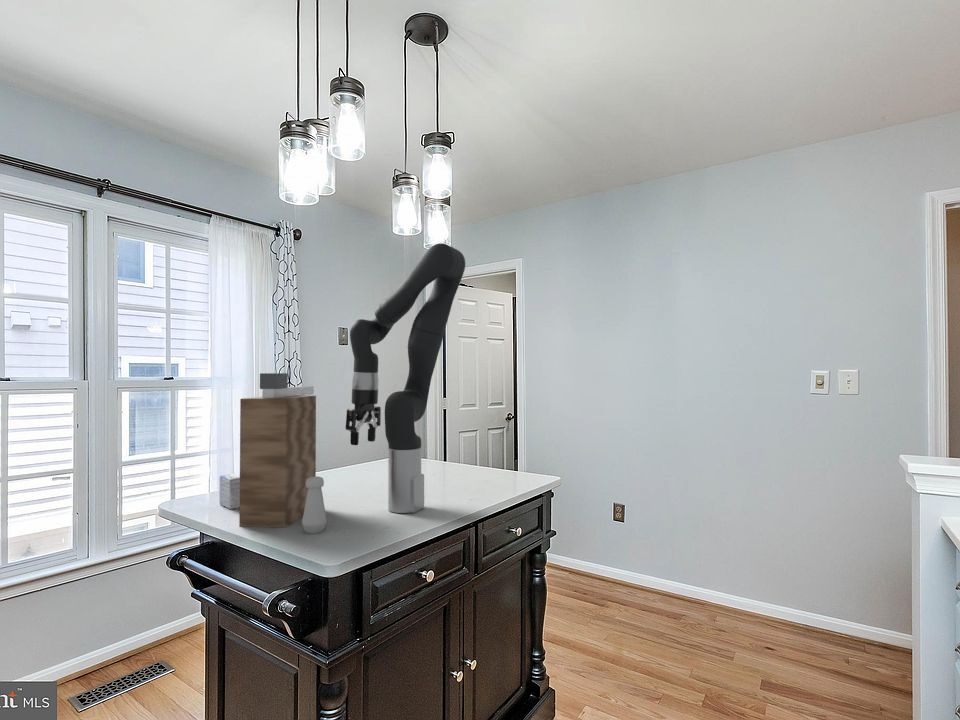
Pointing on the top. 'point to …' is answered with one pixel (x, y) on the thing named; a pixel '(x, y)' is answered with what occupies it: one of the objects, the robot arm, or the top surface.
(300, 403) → the stand
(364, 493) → the top surface
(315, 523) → the salt shaker
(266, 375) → the gray stepped bar
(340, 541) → the top surface
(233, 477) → the medicine box
